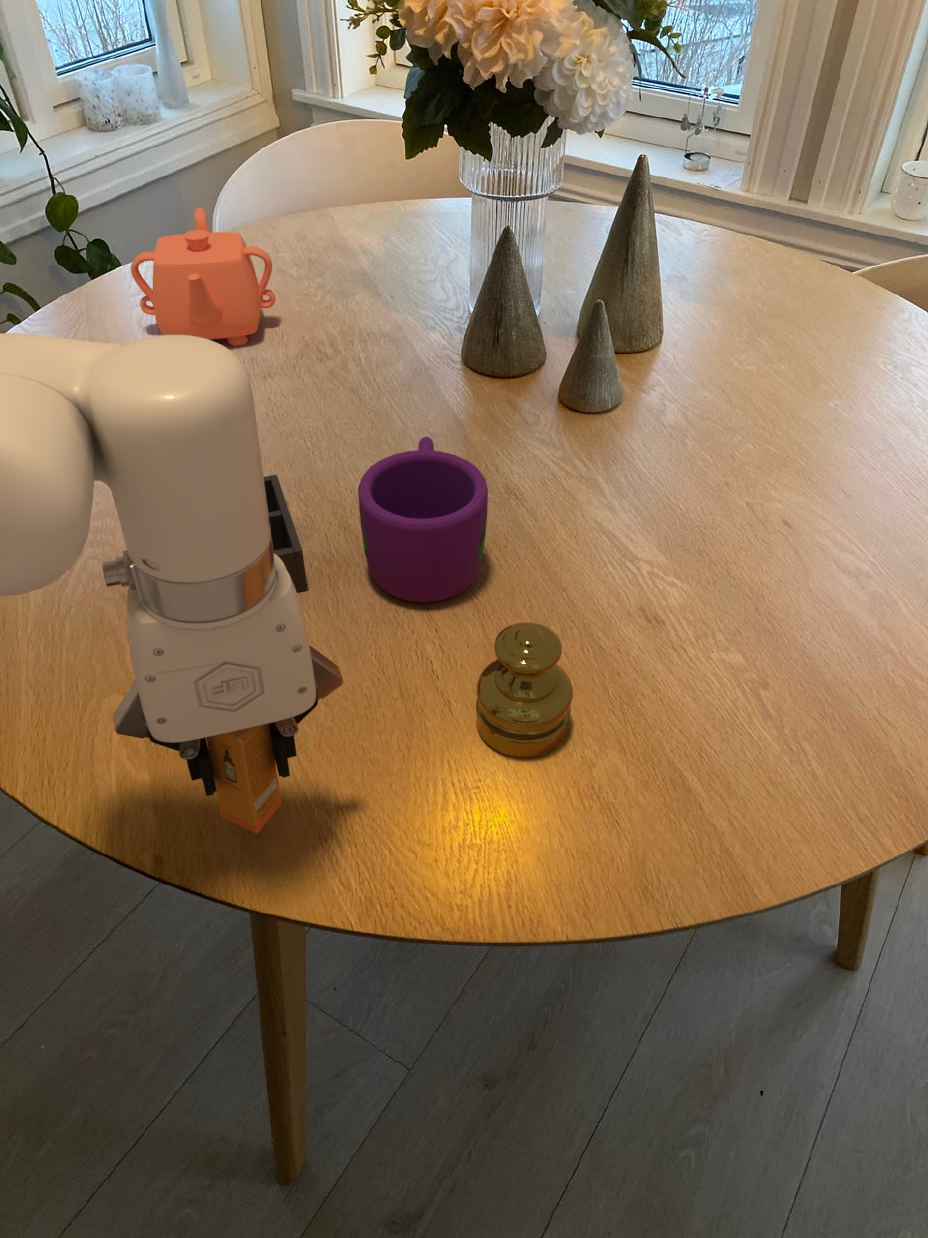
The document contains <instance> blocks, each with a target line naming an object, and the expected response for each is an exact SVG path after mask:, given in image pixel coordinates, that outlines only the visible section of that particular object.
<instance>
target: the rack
mask: <svg viewBox="0 0 928 1238" xmlns="http://www.w3.org/2000/svg"><path fill="white" fill-rule="evenodd" d="M263 477H264V485H265V492H266V499H267V507H268V514H269V522H270V530H271V537H272V545H273V552H274V554H276V555H277V556H278V557H279V558H280V559H281V560H282V562H283V563H284V565H285V567H286V569H287V571H288V573H289V575H290V577H291V579H292V582H293V584H294V587H295V589H296V592H297V593H301V592H305V591H308V582H307V575H306V567H305V561H304V554H303V547H302V545H301V542H300V539H299V537H298V533H297V530H296V527H295V525H294V522H293V519H292V516H291V513H290V510H289V507H288V504H287V501H286V498H285V495H284V492H283V489H282V485H281V483H280V479H279V478H278V475H277V474H271V475H267V476H263Z"/></svg>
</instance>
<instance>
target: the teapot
mask: <svg viewBox="0 0 928 1238" xmlns="http://www.w3.org/2000/svg"><path fill="white" fill-rule="evenodd" d="M193 216H194V217H193V219H194V229H192V230H189V231H187V232H185V233H182V234H173V235H164V236H161V237H159V238H158V239H157V242H156V245H155V247H154V251H143V252H140V253H139V254H138V255H136V256H135V257H134V259H133V260H132V261H131V263H130V264H131V265H130V273H131V276H132V279H133V281H134V282H135V283H136V285H137V286H138V288H139V289H140V290H141V292H142V293H143V294H144V296H143V297H141V298H140V300H139V307H140V309H141V311H142V312H143V313H144V314H146V315H150V316H154V317H155V322H156V325H157V327H158V329H159V330H160V333H161V335H190V336H196V337H201V338H205V339H209V340H219V339H226V341H227V344H229V345H230V346H234V347H235V346H236V347H237V346H243V345H245V344H247V343H248V341H249V339H248V337H247V336H248V335H249V336H250V335H252V334H254V333H256V332H257V331H258V327H259V323H260V319H261V311H262V309H270V308H272V307H273V306H274V305H275V303H276V295H275V293H274V292H273V290H271V289H267V286H268V284H269V281H270V279H271V277H272V272H273V261H272V259H271V257H270V255H269V253H267V251H265V250H264V249H262V248H261V247H259V246H255V245H247V244H246V242H245V240H244V237H243V236H242V234H240V233H238V232H227V231H225V232H224V231H223V232H222V231H221V232H211V231H210V228H209V224H208V220H207V212H206V210H205V209H204V208H203V207H197V208H196V209H195V210H194V215H193ZM252 256H254V257H255V256H256V257H257V258H260V259H261V260H262V261H263V262H264V270H263V273H262V276H261V279H260V281H258V276H257V274H256V269H255V266H254V262H253V259H252ZM144 262H145V263H146V262H152V263H153V265H152V266H153V267H152V287H151V286H150V285H149V284H148V283H147V281H146V279H144V277H143V276H142V274H141V272H140V269H139V267H140V265H141V264H142V263H144ZM264 296H268V297H269V298H268V299H264ZM147 302H151V304H152V306H151V305H148V304H147Z"/></svg>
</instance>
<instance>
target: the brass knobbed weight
mask: <svg viewBox="0 0 928 1238" xmlns="http://www.w3.org/2000/svg"><path fill="white" fill-rule="evenodd" d="M493 648H494V654H495V656H496V658H497V659H495V660H493V661H491V662H490V663H488V665H487V666H485V668H484V669H483V670H482V672H481V673H480V675H479V676H478V679H477V682H476V701H475V711H476V720H475V721H476V727H477V730H478V733H479V736H481V739H482V740H483V741H484V742H485V743H486V744H487V745H488V746H490V747H491V748H492V749H494V750H495V751H497V752H499V753H501V754H504V755H507V756H511V757H516V758H532V757H537V756H541V755H544V754H547V753H549V752H550V751H553V750H554V749H555V748H556V747H558V746H559V745H560V744H561V742H562V741H563V740H564V738H565V736H566V734H567V731H568V726H569V720H570V718H571V710H572V709H571V705H572V702H573V696H574V690H573V689H574V688H573V684H572V681H571V679H570V676H569V675H568V674H567V672H566V671H565V670H564V669H563V668H562V667H561V666H560V665H559V664H557V663H558V662H559V661H560V659H561V657H562V652H563V645H562V641H561V639H560V637H559V636H558V634H557V633H556V632H555V631H554V630H552V629H551V628H549V627H547V626H545V625H543V624H540V623H537V622H530V621H529V622H527V621H526V622H517V623H513V624H510V625H507V626H506V627H505V628H503V629H502V630H501V631H500V632H499V633H498V635H497V636H496V638H495V640H494V647H493Z"/></svg>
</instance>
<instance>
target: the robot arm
mask: <svg viewBox="0 0 928 1238" xmlns="http://www.w3.org/2000/svg"><path fill="white" fill-rule="evenodd" d="M253 394H254V393H253V389H252V382H251V379H250V376H249V373H248V371H247V369H246V367H245V365H244V364H243V362H242V361H241V359H240V358H239V356H237V355H236V354H235V353H234V352H233V351H232V350H231V349H229V348H228V347H226V346H224V345H223V344H220V343H218V342H216V341H213V340H212V339H205V338H201V337H196V336H190V335H163V334H161V335H155V336H148V337H143V338H139V339H136V340H133V341H130V342H127V343H118V342H117V343H116V342H115V343H114V342H102V341H101V342H100V341H94V340H93V341H92V340H83V339H82V340H81V339H76V338H75V339H73V338H66V337H57V336H50V335H41V334H30V333H17V332H12V333H11V332H4V333H3V332H2V333H0V597H8V596H19V595H23V594H27V593H31V592H35V591H38V590H41V589H43V588H45V587H47V586H49V585H51V584H53V583H54V582H57V580H59V579H60V578H61V577H63V576H64V575H65V574H66V573H67V572H68V571H70V570H71V568H72V567H73V565H74V564H75V562H76V561H77V559H78V558H79V557H80V556H81V554H82V552H83V549H84V547H85V544H86V542H87V540H88V537H89V531H90V526H91V519H92V518H91V516H92V510H93V509H92V508H93V501H94V489H95V488H94V487H95V482H96V481H97V482H101V483H104V484H105V485H106V486H107V487H108V488H109V490H110V493H111V495H112V499H113V502H114V505H115V509H116V513H117V516H118V517H117V518H118V520H119V524H120V528H121V531H122V536H123V539H124V542H125V543H124V544H125V547H126V549H125V550H122V556H118V557H116V558H115V560H111V561H110V560H109V561H105V562H102V563H101V567H102V574H103V578H104V582H105V585H106V587H108V588H109V587H114V586H120V585H121V587H122V588H124V587H128V588H127V598H126V599H127V600H126V601H127V603H126V629H127V639H128V646H129V653H130V658H131V663H132V668H133V673H134V674H133V675H134V681H133V683H132V685H131V686H130V687H129V689H128V690H127V692H126V694H125V695H124V697H123V698H122V700H121V702H120V703H119V705H118V707H117V708H116V710H115V711H114V713H113V723H114V731H115V733H116V734H118V735H121V736H126V737H132V738H138V739H144V738H147V739H148V740H149V741H150V742H151V743H153V744H155V745H159V746H162V747H165V748H168V749H171V750H174V751H177V752H178V755H179V757H180V758H181V759H182V760H186V764H187V768H188V772H189V775H190V780H191V781H192V782H193V781H197V780H202V785H203V788H204V792H205V797H209V796H212V795H213V796H214V795H215V793H217V790H216V785H215V779H214V774H213V770H212V765H211V759H210V754H209V749H208V744H207V739H206V737H209V736H214V735H219V734H223V733H228V732H233V731H237V730H241V729H246V728H250V727H255V726H259V725H263V724H267V723H270V731H271V737H272V743H273V750H274V758H275V764H276V770H277V775H278V777H279V778H280V777H281V778H282V779H284V778H287V777H291V774H290V766H289V760H288V759H290V758H294V757H295V758H296V757H297V756H298V755H297V748H296V740H295V735H297V734H298V732H299V724H300V723H301V722H303V720H304V719H306V717H307V716H309V714H310V713H311V712H313V710H314V709H315V708H316V707H317V706H318V704H319V701H320V700H323V699H325V698H326V697H329V695H330V694H332V693H333V692H335V691H336V690H337V689H339V688H340V687H341V686H343V684H344V679H343V676H342V673H341V671H340V667H339V666H338V665H337V664H336V663H335V662H333V661H332V660H330V659H329V658H327V657H326V656H325V655H324V654H322V653H321V652H320V651H318V649H315V648H314V647H313V646H312V645H310V643H309V637H308V631H307V627H306V623H305V622H306V621H305V617H304V613H303V609H302V604H301V602H300V599H299V595H298V592H296V589H295V587H294V584H293V582H292V579H291V577H290V575H289V573H288V571H287V569H286V567H285V565H284V563H283V562H282V560H281V559H280V558H279V557H278V556H277V555H276V554H274V552H273V545H272V537H271V530H270V522H269V514H268V507H267V499H266V492H265V485H264V477H265V476H264V470H263V462H262V456H261V445H260V439H259V438H260V437H259V431H258V424H257V416H256V408H255V400H254V395H253Z"/></svg>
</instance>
